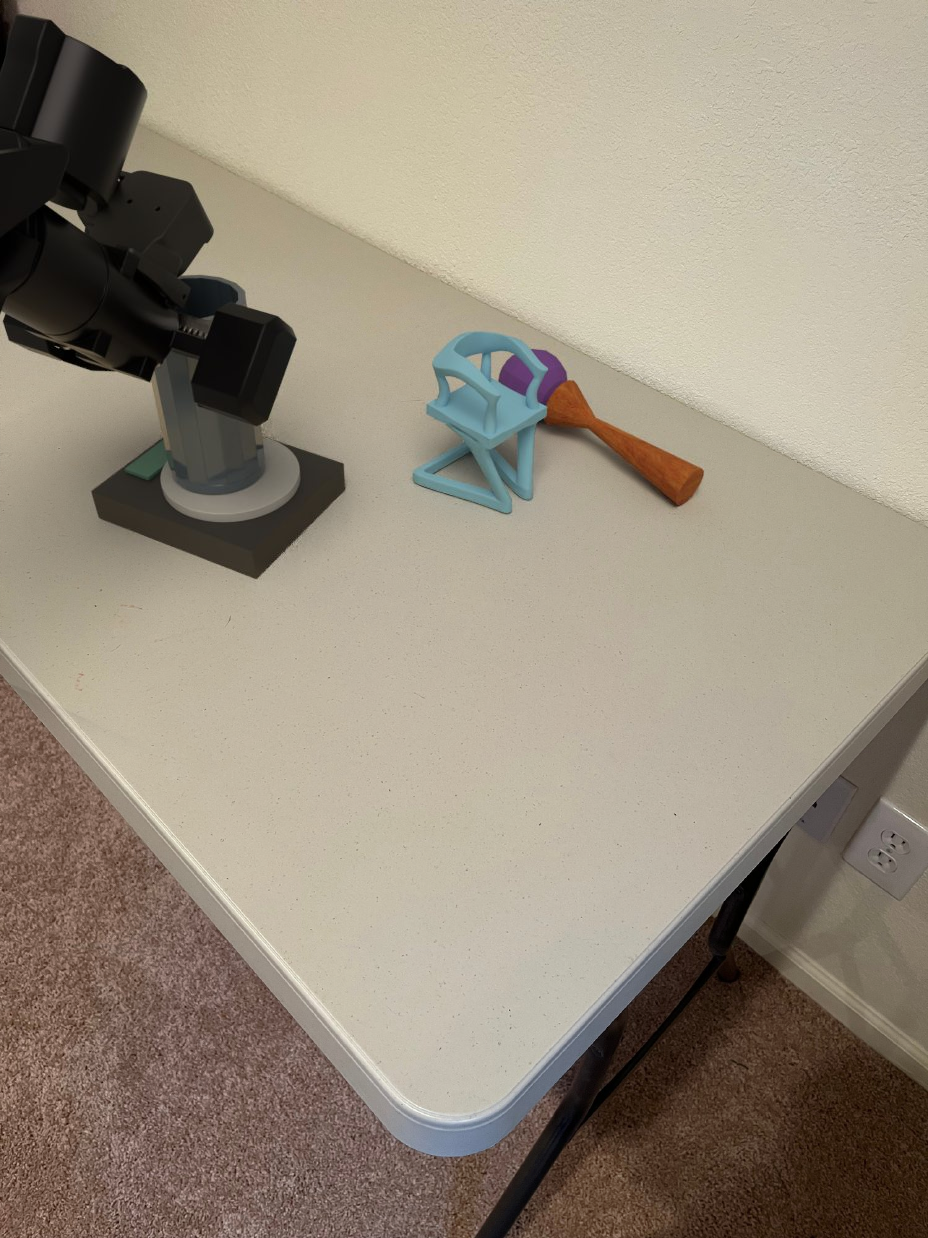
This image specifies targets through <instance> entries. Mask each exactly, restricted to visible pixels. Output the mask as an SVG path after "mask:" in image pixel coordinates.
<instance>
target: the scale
mask: <svg viewBox="0 0 928 1238" xmlns="http://www.w3.org/2000/svg"><path fill="white" fill-rule="evenodd" d="M263 444H264V453H265V462H266V467H265V470H264V472H263V474H262V476H261V477H260V478H259V479H258V480H257V481H256V482H254V483H253V484H251V485H250V486H248V487H246V488H244V489H241V490H238V491H235V492H231V493H226V494H201V493H196V492H192V491H189V490H187V489H185V488H183V487H181V486H180V485H179V484H177V483H176V482H175V480H174V479H173V477H172V475H171V470H170V467H169V464H168V460H167V455H166V450H165V445H164V440H163V437H161V438H160V439H159V440H158V441H156V442H155V443H153V444H152V445H150V447H148V448H147V449H145V450H144V451H143V452H141V453H140V454H139V455H137V456H136V457H135V458H133V459H132V460H131V461H129V462H128V463H126V464H125V465H123V466H122V467H121V468H120V469H118V470H117V471H116V472H114V473H113V474H112V475H111V476H109V477H108V478H107V479H105V480H103V481H102V482H101V483H100V484H98V485H97V486H96V487H94V488H93V489H92V490H91V491H90V492H91V496H92V499H93V502H94V506H95V510H96V513H97V517H98V518H99V519H101V520H103V521H106V522H108V523H110V524H113V525H116V526H119V527H121V528H124V529H127V530H129V531H132V532H133V533H137V534H140V535H142V536H144V537H147V538H150V539H152V540H154V541H157V542H160V543H163V544H165V545H168V546H169V547H170V546H171V547H173V548H176V549H178V550H180V551H183V552H186V553H189V554H191V555H193V556H196V557H198V558H201V559H204V560H207V561H209V562H211V563H213V564H214V563H215V564H216V565H219V566H221V567H224V568H227V569H230V570H232V571H235V572H238V573H240V574H242V575H245V576H248V577H250V578H252V579H258V578H259V577H260V576H261V575H262V573H264V572H265V571H266V570H267V569H268V568H269V567H270V566H271V565H272V564H273V563H274V562H275V561H276V560H277V559H278V558H279V557H280V556H281V555H282V554H283V553H284V552H285V551H286V550H287V549H288V548H289V547H290V546H291V545H292V544H293V543H294V542H295V541H296V540H297V539H298V538H299V537H300V536H301V534H302V533H304V532H305V531H306V529H307V528H309V526H310V525H311V524H313V523H314V522H315V521H316V519H317V518H319V516H321V514H323V512H324V511H326V509H327V508H328V507H330V505H331V504H333V502H334V501H335V500H337V498H338V497H339V496H340V495H341V494H342V493H343V492H344V491H346V483H345V482H346V479H345V463H343V462H341V461H338V460H334V459H332V458H329V457H326V456H323V455H320V454H317V453H314V452H311V451H308V450H305V449H302V448H299V447H296V446H294V445H291V444H287V443H285V442H281V441H278V440H275V439H272V438H270V437H266V436H263Z"/></svg>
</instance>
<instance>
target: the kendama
mask: <svg viewBox="0 0 928 1238" xmlns="http://www.w3.org/2000/svg"><path fill="white" fill-rule="evenodd" d="M530 349H531V350H532V352H533V353H534V354H535V356H536V357H537V358H538V360H539V361H540V362H541V363H542V364H543V365H545V366H546V367H547V368H548V370H547V372H546V374H545V376H544V377H543V379H542V381H541V383H540V385H539V388H538V391H537V400H538V402H539V403H541V404H543V405H545V406H547V414H546V417H545V418H543V421H544V423H545V424H546V425H547V426H556V427H564V428H565V427H566V428H575V429H576V428H577V429H585V430H589V431H590V432H591V433H592V434H593V435H595V436H596V437H597V438H598V439H600V441H601V442H603V443H604V444H605V445H607V447H609V448H610V449H611V450H612V451H614V452H615V453H616V454H617V455H618V456H620V457H621V459H623V460H624V461H625V462H627V463H628V464H629V465H630V466H631V467H632V468H634V469H635V470H636V471H637V472H638V473H639V474H641V475H642V476H643V477H644V478H645V479H647V481H649V482H650V483H651V484H652V485H654V487H656V488H657V489H658V490H659V491H660V492H662V493H663V494H664V495H665V496H666V497H668V498H669V499H670V500H671V501H672V502H674V503H675V504H676V505H677V506H683V505H684V504H685V503H687V502H688V501H689V500H690V499H691V498H692V497H693V496H694V495H695V493H696V492H697V490H698V489H699V487H700V485H701V484H702V481H703V479H704V475H705V470H704V469H703V468H702V467H700V466H698V465H696V464H693V463H691V462H689V461H687V460H685V459H683V458H681V457H679V456H676V455H675V454H673V453H670V452H668V451H667V450H664V449H662V448H660V447H658V446H657V445H654V444H652V443H650V442H647V441H646V440H643V439H642V438H640V437H637V436H635V435H633V434H631V433H629V432H627V431H625V430H622V429H620V428H618V427H616V426H615V425H613V424H610V423H608V422H606V421H604V420H602V419H600V418H598V417H596V416H595V414H594V412H593V410H592V408H591V407H590V405H589V403H588V401H587V399H586V398H585V395H584V394H583V392H582V390H581V389H580V387H579V384H578V383H577V382H576V381H575V380H573V379H568V372H567V370H566V369H565V367H564V365H563V364H562V362H561V361H560V360H559V358H558V357H557V355H556V356H555V355H554V354H553V353H551V352H549V350H546V349H539V348H538V349H537V348H530ZM533 378H534V375H533V374H532V373H531V371H530V370H529V368H528V367H527V366H526V365H525V364H524V362H523V361H522V360H521V359H520V358H519V357H517V356H516V355H515V354H513V355H511V356H510V357H508V358H507V360H506V361H505V363H504V364H503V365H502V366H501V369H500V371H499V374H498V380H497V381H498V382H499V383H501V384H503V385H504V386H506V387H507V388H509V389H511V390H513V391H515V392H517V393H519V394H521V395H523V396H525V397H526V392H527V389H528V387H529V385H530V383H531V381H532V380H533Z"/></svg>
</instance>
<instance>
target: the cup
mask: <svg viewBox="0 0 928 1238" xmlns="http://www.w3.org/2000/svg"><path fill="white" fill-rule="evenodd" d="M178 279H180V280H181V281H182V282H184V283H185V284H186V285H188V286H189V287H190V288H191V289H190V292H189V295H188V298H187V300H186V303H185V306H184V307H183V308H181V307H178V306H177V308H176V311H177V312H180V313H183V314H187V315H190V316H193V317H197V318H200V319H203V320H207V321H209V320H211V319H212V318H213V317H214V315H215V313H216V310H218V309H220V308H221V307H223V306H224V305H226V304H227V303H229V302H231V303H235V304H238V305H242V306H245V307H248V303H247V295H246V291H245V289H243V287H241V286H240V285H239V283H237V282H235V281H233V280H230V279H227V278H224V277H221V276H215V275H206V274H187V275H186V274H185V275H184V274H182V275H181V276H180V277H178ZM178 332H181V333H184V334H188V335H191V334H189V333H188V332H187V333H185V332H183V331H179V330H178ZM191 336H194V337H197V338H201V337H200V336H199V335H198V336H195V335H194V334H192V335H191ZM201 339H204V340H206V338H204V337H203V338H201ZM197 363H198V360H197V359H194V358H190V357H187V356H184V355H181V354H178V353H175V352H171V351H170V353H169V354H168V356H167V357H166V358H165V359H164V361H163V364H162V366H161V367H160V368H156V367H155V370H154V373H153V376H152V379H151V381H150V383H151V387H152V392H153V397H154V401H155V406H156V411H157V416H158V422H159V425H160V430H161V436H162V438H163V440H164V445H165V450H166V455H167V460H168V464H169V467H170V470H171V475H172V477H173V479H174V480H175V482H176V483H177V484H179V485H180V486H181V487H183V488H185V489H187V490H189V491H192V492H196V493H201V494H226V493H231V492H235V491H238V490H241V489H244V488H246V487H248V486H250V485H251V484H253V483H254V482H256V481H257V480H258V479H259V478H260V477H261V476H262V474H263V472H264V470H265V467H266V462H265V453H264V444H263V437H264V436H263V428H262V424H261V425H259V426H254V425H251V424H248V423H245V422H242V421H239V420H236V419H233V418H230V417H227V416H224V415H221V414H219V413H216V412H213V411H210V410H207V409H204V408H201V407H199V406H197V405H198V404H197V403H195V402H194V398H193V393H192V387H191V380H192V377H193V374H194V372H195V369H196V366H197Z"/></svg>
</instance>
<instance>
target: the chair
mask: <svg viewBox="0 0 928 1238" xmlns="http://www.w3.org/2000/svg"><path fill="white" fill-rule="evenodd" d="M531 349H532V348H530V347H529V345H528V344H527V343H526V342H525V341H523V340H522V339H519V338H518V337H514V336H510V335H506V334H502V333H498V332H492V331H485V330H484V331H482V330H474V331H466V332H464V333H460V334H458V335H457V336H455V337H454V338H453V339H451V340H450V341H449V342H448V343H446V345H444V347H443V348H441V350H439V352H438V353H437V354H436V355H435V356H434V358H433V360H432V363H431V365H432V369H433V372H434V375H435V378H436V381H437V385H438V394H437V397H436V398H435V399H433V400H431V401H429V402H427V403H426V405H425V408H426V409H425V415H427V416H429V417H430V418H433V419H434V420H436V421H438V422H440V423H443V424H444V425H445V426H447V427H448V428H449V429H450V430H451V431H452V432H454V433H455V434H456V435H457V436H458V437H459V438H460V439H461V440H462V441H463V442H461V443H459V444H458V445H456V446H454V447H452V448H450V449H448V450H447V451H445V452H444V453H442V454H440V455H438V456H436V457H435V458H433V459H430V460H429V461H428V462H426V463H424V464H422V465H421V466H419V467H418V468H416V469H414V470H413V472H412V481H413V482H414V483H415V484H417V485H419V486H421V487H425V488H428V489H429V490H434V491H436V492H440V493H443V494H446V495H449V496H452V497H455V498H459V499H463V500H465V501H469V502H473V503H476V504H479V505H482V506H485V507H487V508H490V509H492V510H495V511H498V512H501V513H503V514H510V513H511V512H512V511H513V504H512V503H513V502H512V501H513V499H512V497H511V494H509V492H508V490H507V488H506V486H508V487H509V488H510V489H511V490H512V491H513V492H514V493H515V494H516V495H517V496H519V497H520V498H521V499H523V500H527V501H529V500H531V499H533V496H534V495H533V494H534V493H533V491H534V490H533V489H534V487H533V486H534V485H533V484H534V483H533V482H534V455H535V453H534V451H535V439H536V438H535V436H536V429H537V424H538V422H540V421H542V420H544V418H545V417H546V414H547V406H545V405H543V404H541V403H539V402H538V400H537V391H538V388H539V385H540V383H541V381H542V379H543V377H544V376H545V374H546V372H547V370H548V368H547V367H546V366H545V365H543V364H542V363H541V362H540V361H539V360H538V358H537V357H536V356H535V354H534V353H533V352H532V350H531ZM496 352H508V353H510V354H513V355H514V354H515V355H516V356H517V357H519V358H520V359H521V360H522V361H523V362H524V364H525V365H526V366H527V367H528V368H529V370H530V371H531V373H532V374H533V375H534V378H533V380H532V381H531V383H530V385H529V387H528V389H527V392H526V397H525V396H523V395H521V394H519V393H517V392H515V391H513V390H511V389H509V388H507V387H506V386H504V385H503V384H501V383H499V382H498V380H497V379H494V378H492V353H496ZM480 354H481V363H480V369H479V368H478V367H477V366H476V364H474V362H472V361H471V360H470V359H468V358H469V357H472V356H474V355H480ZM447 377H450V378H455V379H458V380H461V381H462V382H463V383H465V384H464V385H462V386H461V387H459V388H456V389H455V390H453V391H451V387H450V384H449V382H448V380H447ZM515 434H516V440H517V441H516V443H517V446H516V447H517V456H516V457H517V460H516V461H517V464H516V465H517V467H516V470H515V469H514V468H513V467H512V466H511V465H510V464H509V463H508V461H506V460H505V458H503V456H501V454H500V453H499V452H498V451H497V450H496V449H495V448H496V447H497V446H499V445H501V444H503V443H504V442H505V441H506V440H508V439H509V438H511V437H512V436H513V435H515ZM469 453H472V455H473V457H474V459H475V460H476V462H477V464H478V466H479V468H480V469H481V471H482V474H483V476H484V477H485V479H486V481H487V483H488V485H489V488H490V489H488V488H484V487H481V486H477V485H473V484H470V483H466V482H462V481H459V480H455V479H451V478H448V477H445V476H441V475H437V474H435V473H437V472H438V471H440V470H441V469H444V468H445V467H446V466H448V465H450V464H452V463H453V462H456V461H457V460H458V459H460V458H462V457H463V456H466V455H468V454H469ZM504 483H505V484H506V486H505V484H504Z"/></svg>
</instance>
